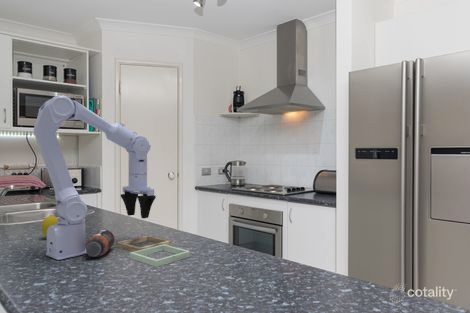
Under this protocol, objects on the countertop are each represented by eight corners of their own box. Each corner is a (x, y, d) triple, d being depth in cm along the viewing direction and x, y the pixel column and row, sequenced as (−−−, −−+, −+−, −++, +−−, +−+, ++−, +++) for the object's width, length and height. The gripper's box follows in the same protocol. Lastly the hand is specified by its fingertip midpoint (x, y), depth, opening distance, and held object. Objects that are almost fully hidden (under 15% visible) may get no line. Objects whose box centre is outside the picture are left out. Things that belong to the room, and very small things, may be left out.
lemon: (63, 237, 119) (63, 213, 119) (53, 241, 113) (53, 216, 113) (48, 236, 119) (48, 213, 119) (37, 240, 114) (37, 216, 114)
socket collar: (139, 254, 99) (139, 248, 99) (116, 247, 106) (116, 242, 106) (170, 245, 108) (170, 241, 108) (147, 239, 115) (147, 235, 115)
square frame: (156, 267, 87) (156, 261, 87) (129, 258, 95) (129, 252, 95) (190, 256, 96) (190, 251, 96) (163, 249, 104) (163, 244, 104)
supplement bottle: (99, 226, 104) (87, 234, 93) (118, 233, 104) (108, 242, 93) (91, 244, 104) (78, 255, 92) (110, 252, 104) (99, 263, 93)
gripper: (162, 174, 109) (162, 217, 109) (135, 172, 119) (135, 212, 119) (143, 175, 104) (143, 220, 104) (116, 173, 113) (116, 215, 113)
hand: (137, 216), depth 111 cm, fingers open, 7 cm apart
